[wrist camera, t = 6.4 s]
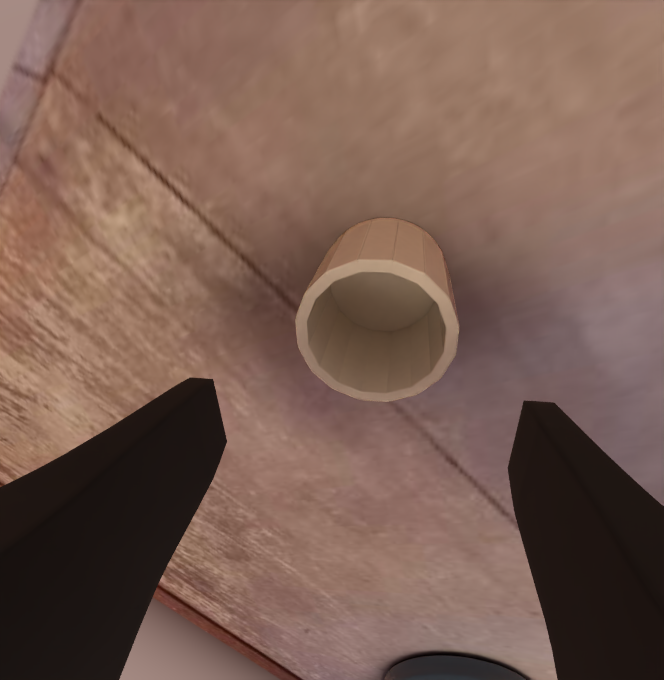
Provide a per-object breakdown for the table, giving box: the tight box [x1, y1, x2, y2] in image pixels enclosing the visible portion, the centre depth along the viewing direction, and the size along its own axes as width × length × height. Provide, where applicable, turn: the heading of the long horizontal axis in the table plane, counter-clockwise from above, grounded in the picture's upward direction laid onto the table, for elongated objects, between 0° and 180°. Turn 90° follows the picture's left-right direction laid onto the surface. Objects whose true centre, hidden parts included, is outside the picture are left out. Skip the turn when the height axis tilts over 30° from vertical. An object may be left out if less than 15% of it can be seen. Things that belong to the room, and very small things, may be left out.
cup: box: [295, 218, 460, 402], centre depth 16 cm, size 5×5×5 cm
